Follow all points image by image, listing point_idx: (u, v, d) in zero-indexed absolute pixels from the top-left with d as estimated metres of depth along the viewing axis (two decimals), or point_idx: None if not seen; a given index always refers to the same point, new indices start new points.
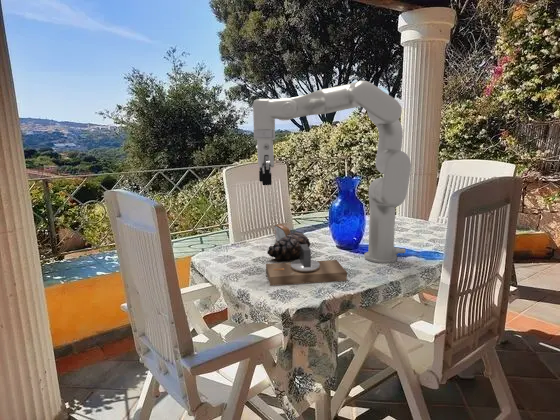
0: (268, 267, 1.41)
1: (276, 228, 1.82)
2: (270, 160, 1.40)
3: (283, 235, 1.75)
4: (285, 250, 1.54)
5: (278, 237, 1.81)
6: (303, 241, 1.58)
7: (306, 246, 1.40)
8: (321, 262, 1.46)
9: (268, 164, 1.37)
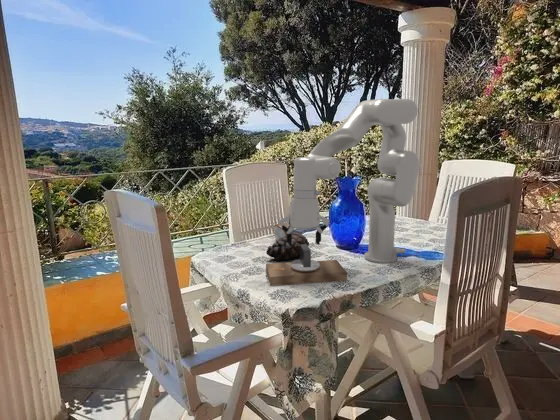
0: (268, 267, 1.41)
1: (276, 228, 1.82)
2: None
3: (283, 235, 1.75)
4: (284, 250, 1.54)
5: (278, 237, 1.81)
6: (302, 241, 1.58)
7: (306, 246, 1.40)
8: (321, 262, 1.46)
9: None
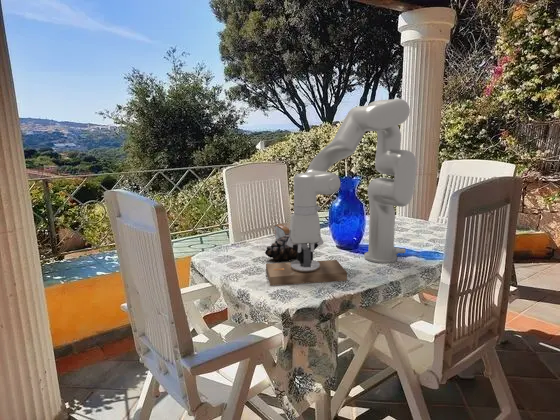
0: (268, 267, 1.41)
1: (276, 228, 1.82)
2: None
3: (283, 235, 1.75)
4: (283, 250, 1.54)
5: (278, 237, 1.81)
6: None
7: (306, 246, 1.40)
8: (321, 262, 1.46)
9: None
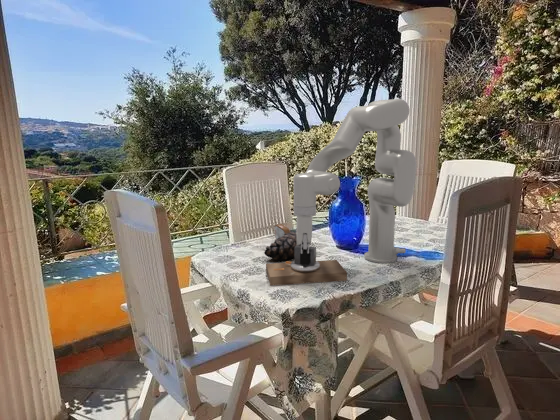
0: (268, 267, 1.41)
1: (276, 228, 1.82)
2: None
3: (283, 235, 1.75)
4: (283, 250, 1.54)
5: (278, 237, 1.81)
6: None
7: None
8: (321, 262, 1.46)
9: None
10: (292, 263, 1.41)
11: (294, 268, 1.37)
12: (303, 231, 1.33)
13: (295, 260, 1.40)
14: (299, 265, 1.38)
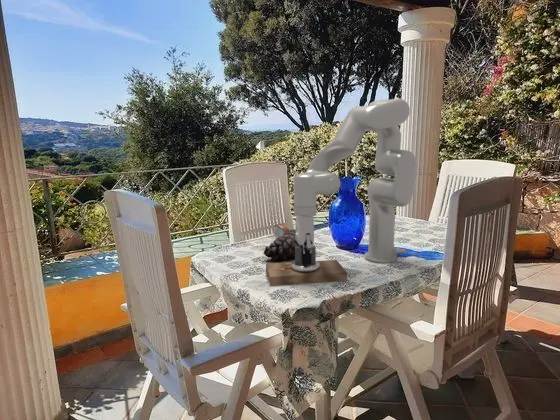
0: (268, 267, 1.41)
1: (276, 228, 1.82)
2: None
3: None
4: (282, 250, 1.54)
5: (278, 237, 1.81)
6: None
7: None
8: (321, 262, 1.46)
9: None
10: (293, 265, 1.39)
11: (298, 269, 1.36)
12: (306, 231, 1.33)
13: (296, 261, 1.39)
14: (301, 266, 1.38)
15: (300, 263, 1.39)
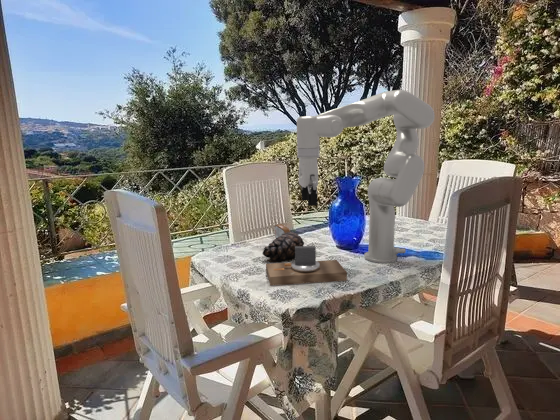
0: (268, 267, 1.41)
1: (276, 228, 1.82)
2: None
3: None
4: (281, 250, 1.54)
5: None
6: (298, 241, 1.58)
7: (303, 246, 1.39)
8: (321, 262, 1.46)
9: None
10: (293, 265, 1.39)
11: (298, 269, 1.36)
12: (310, 172, 1.34)
13: (296, 261, 1.39)
14: (301, 266, 1.38)
15: (300, 263, 1.39)
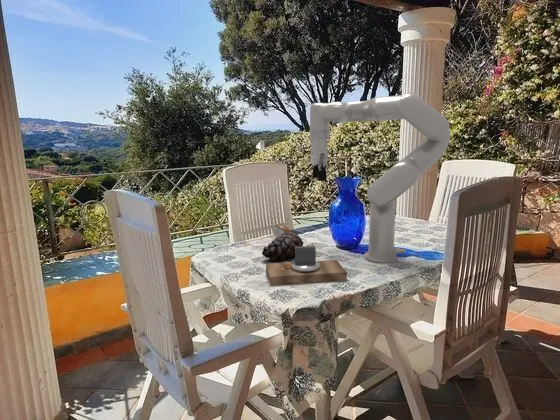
0: (268, 267, 1.41)
1: (276, 228, 1.82)
2: None
3: None
4: (281, 250, 1.54)
5: None
6: (297, 241, 1.58)
7: (303, 246, 1.39)
8: (321, 262, 1.46)
9: None
10: (293, 265, 1.39)
11: (298, 269, 1.36)
12: (321, 152, 1.54)
13: (296, 261, 1.39)
14: (301, 266, 1.38)
15: (300, 263, 1.39)
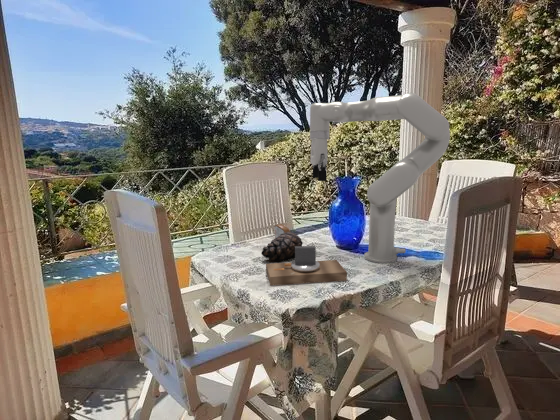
0: (268, 267, 1.41)
1: (276, 228, 1.82)
2: None
3: None
4: (280, 250, 1.54)
5: None
6: (296, 241, 1.58)
7: (303, 246, 1.39)
8: (321, 262, 1.46)
9: None
10: (293, 265, 1.39)
11: (298, 269, 1.36)
12: (321, 152, 1.54)
13: (296, 261, 1.39)
14: (301, 266, 1.38)
15: (300, 263, 1.39)
